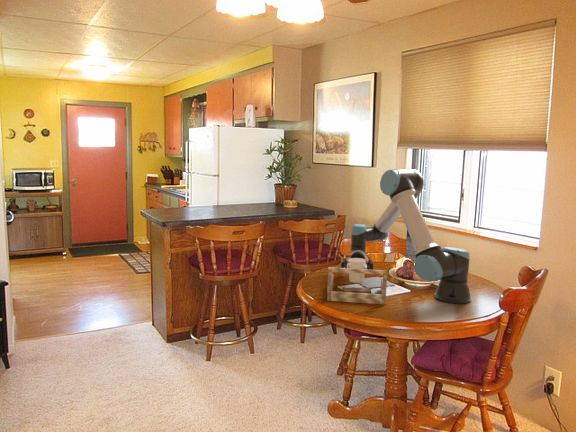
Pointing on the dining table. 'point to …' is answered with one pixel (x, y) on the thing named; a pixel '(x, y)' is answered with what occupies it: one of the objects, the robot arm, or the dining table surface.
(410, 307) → the dining table surface
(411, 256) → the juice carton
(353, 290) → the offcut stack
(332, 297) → the frame
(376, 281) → the rubber mat
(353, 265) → the white cup
